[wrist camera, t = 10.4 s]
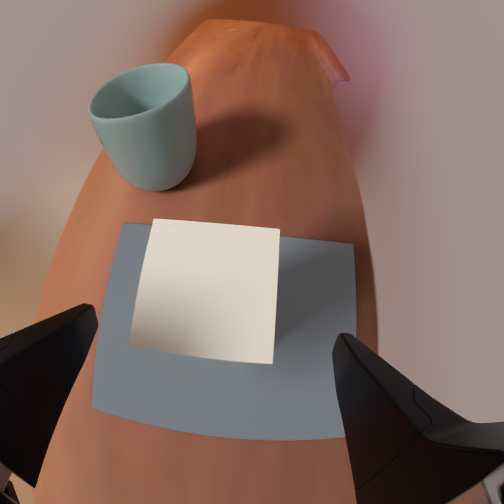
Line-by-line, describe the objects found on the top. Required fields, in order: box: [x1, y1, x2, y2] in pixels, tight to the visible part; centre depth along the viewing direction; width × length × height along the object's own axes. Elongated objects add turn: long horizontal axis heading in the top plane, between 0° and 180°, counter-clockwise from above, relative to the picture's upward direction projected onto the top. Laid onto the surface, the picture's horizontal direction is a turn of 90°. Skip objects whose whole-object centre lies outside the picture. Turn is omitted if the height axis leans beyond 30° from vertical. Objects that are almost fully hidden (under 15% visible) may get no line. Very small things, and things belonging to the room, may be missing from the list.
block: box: [129, 219, 280, 364], centre depth 13 cm, size 4×4×12 cm
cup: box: [88, 63, 197, 192], centre depth 20 cm, size 8×8×10 cm
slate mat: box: [92, 223, 357, 440], centre depth 19 cm, size 16×20×1 cm
